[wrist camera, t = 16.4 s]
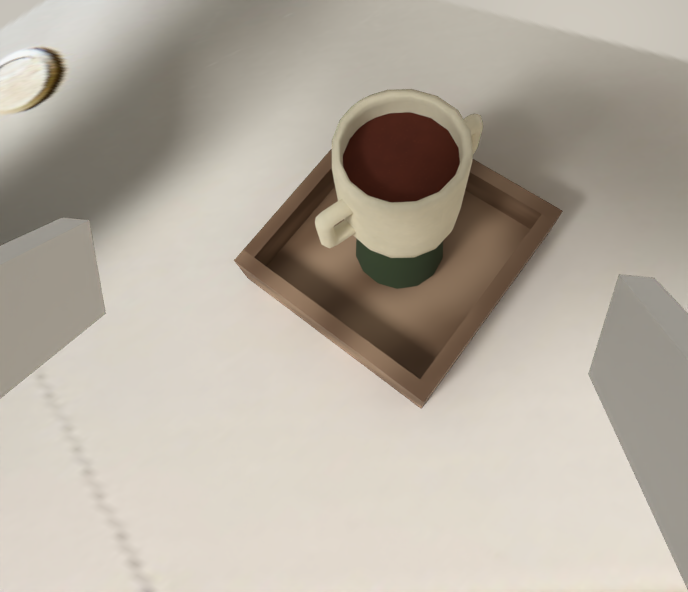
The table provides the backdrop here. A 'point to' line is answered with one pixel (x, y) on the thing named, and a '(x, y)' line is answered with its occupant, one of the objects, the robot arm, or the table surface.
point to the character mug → (399, 182)
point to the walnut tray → (405, 303)
